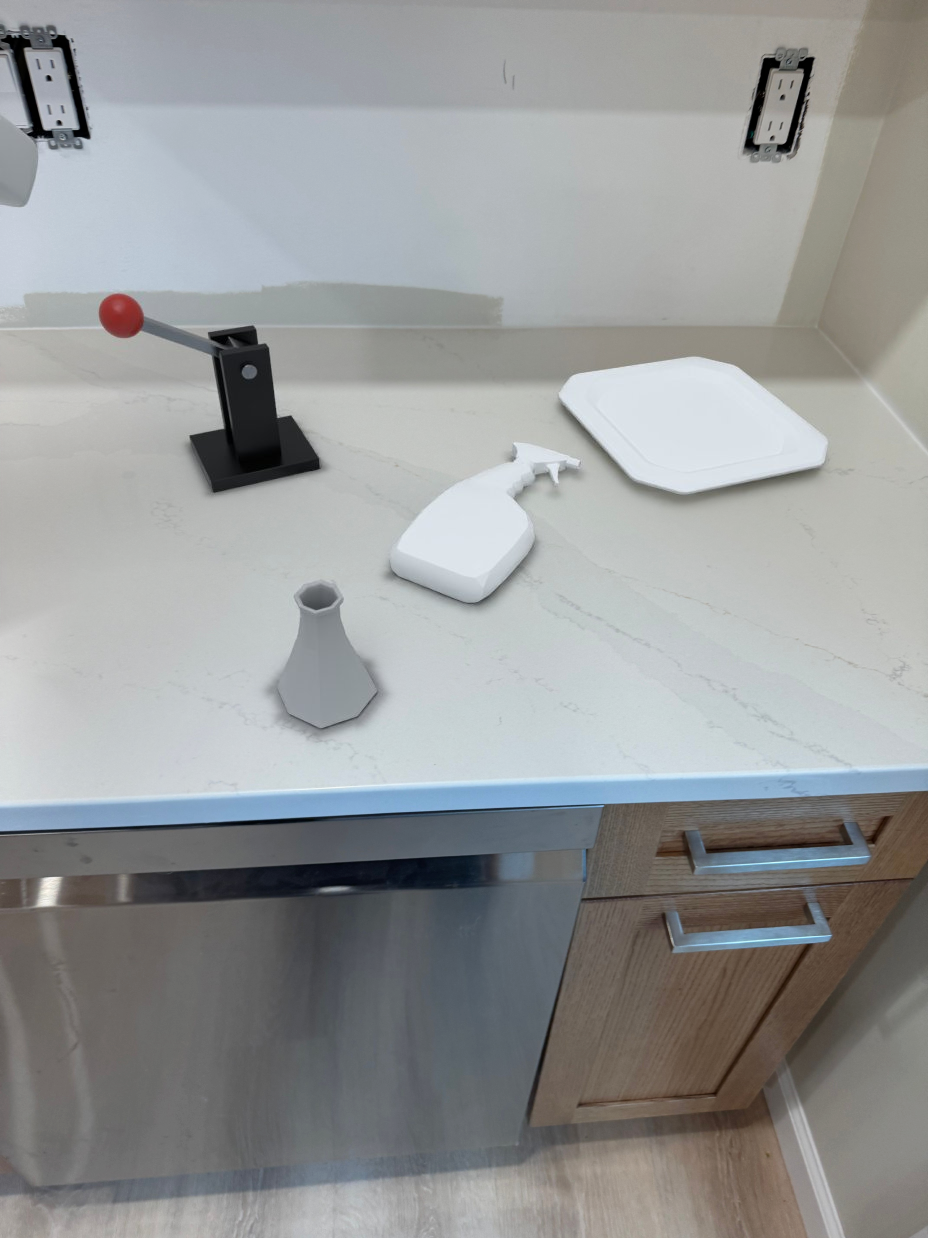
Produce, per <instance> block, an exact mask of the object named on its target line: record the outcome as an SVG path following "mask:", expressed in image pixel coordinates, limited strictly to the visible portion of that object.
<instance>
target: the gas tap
mask: <svg viewBox="0 0 928 1238" xmlns="http://www.w3.org/2000/svg"><path fill="white" fill-rule="evenodd" d="M228 337H231V338H234V339H236V340H239V341H242V342H245V343H247V344H250V345H252V346H245V347H239V348H233V349H227V350H221V351H219V356H220V358H219V357H216V356H213V355H211V360H212V366H213V372H214V378H215V383H216V384H215V385H216V389H217V395H218V396H217V397H218V402H219V408H220V413H221V418H222V424H223V428H219V429H215V430H210V431H204V432H199V433H194V434H190V435H188V437H189V442H190V446H191V449H192V450H193V453H194V455H195V457H196V459H197V462H198V463H199V466H200V468H201V469H202V471H203V474H204V476H205V479H206V481H207V482H208V485H209V487H210V489H211V491H212V492H213V493H217V492H221V491H226V490H230V489H234V488H239V487H244V486H248V485H253V484H257V483H261V482H266V481H271V480H274V479H279V478H284V477H288V476H292V475H297V474H301V473H305V472H310V471H315V470H319V469H321V462H320V461H321V460H320V457H319V456H318V454H317V452H316V451H315V450H314V448H313V446H312V445H311V443H310V441H309V440H308V439H307V436H306V435H305V434H304V432H303V431H302V429H301V428H300V426H299V424H298V423H297V421H296V420H295V418H294V417H293V415H291V414H290V415H284V416H280V417H278V412H277V403H276V395H275V387H274V377H273V369H272V361H271V353H270V347H269V345H268V344H267V343H265V342H263V343H259V339H258V338H259V337H258V330H257V328H256V327H255V325H254V324H252V325H245V326H239V327H232V328H225V329H220V330H212V331H208V332H207V339H209V340H212V341H215V342H218V343H220V344H223V345H225V344H226V341H227V339H228ZM219 359H220V360H219Z"/></svg>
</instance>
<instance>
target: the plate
mask: <svg viewBox="0 0 928 1238" xmlns="http://www.w3.org/2000/svg"><path fill="white" fill-rule="evenodd" d="M557 396H558V400H559V401H560V403H561V404H562V405H563V406H564V407H565V408H566V410H568V412H570V414H571V415H572V416H573V417H574V418H575V419H576V421H578V423H580V425H581V426H582V427H583V428H584V429H585V430H586V432H588V433H589V435H590V436H591V437H592V438H593V440H595V441H596V442H597V444H599V446H600V447H601V448H602V449H603V450H604V451H605V452H606V454H607V455H609V457H610V458H611V460H613V461H614V462H615V463H616V464H617V465H618V467H619V468H620V469H621V470H622V471H623V473H625V474H626V476H627V477H628V478H629V479H630V480H632V481H634V482H635V483H638V484H641V485H645V486H648V487H651V488H655V489H659V490H662V491H666V492H670V493H673V494H676V495H677V494H678V495H685V496H689V495H693V494H697V493H702V492H703V493H704V492H708V491H712V490H717V489H721V488H727V487H731V486H736V485H741V484H745V483H751V482H756V481H760V480H765V479H769V478H775V477H778V476H779V477H781V476H784V475H788V474H794V473H798V472H804V471H808V470H812V469H813V470H814V469H818V468H820V467H822V466H823V465H824V464H825V461H826V456H827V451H828V447H829V446H828V445H829V440H828V438H827V437H826V436H825V435H824V434H823V433H822V432H821V431H819V430H818V429H816V427H814V426H813V425H811V424H810V423H809V422H808V421H806V420H805V419H804V418H802V417H801V416H800V415H799V414H797V412H795V411H794V410H793V409H791V408H790V407H789V406H787V404H785V403H784V402H782V401H781V400H780V399H779V398H778V397H776V396H775V395H774V394H772V393H771V392H770V391H769V390H768V389H766V388H765V387H764V386H762V385H761V384H760V383H759V382H757V381H756V380H755V379H753V377H751V376H750V375H749V374H748V373H746V372H745V371H744V370H742V369H741V368H740V367H738V366H737V365H735V364H732V363H728V362H727V363H726V362H722V361H718V360H713V359H711V358H705V357H703V356H694V355H693V356H687V357H680V358H674V359H665V360H660V361H654V362H653V361H652V362H648V363H639V364H633V365H627V366H620V367H613V368H607V369H600V370H594V371H587V372H579V373H576V374H573V375H571V376H570V377H569V378H568V379H567V381H566V382H565V384H564V385H563V386H562V387H561V389H560V390H559V392H558V394H557Z"/></svg>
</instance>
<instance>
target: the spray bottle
mask: <svg viewBox="0 0 928 1238" xmlns="http://www.w3.org/2000/svg"><path fill="white" fill-rule="evenodd" d="M511 454H512V455H513V456H514V457H515V459H514V460H513V461H506V462H504V463H501V464H499V465H496V466H493V467H490V468H488V469H485V470H483V471H481V472H478V473H477V474H474V475H473V476H471V477H469V478H466V479H464V480H460V481H458V482H456V483H455V484H453V485H452V486H450V487H449V488H448V489H446V490H444V491H443V492H441V493H440V494H439V495H438V496H436V497H435V498H434V499H433V500H432V501H431V502H430V503H428V504H427V505H426V506H425V507H424V508H423V509H422V510H420V512H418V514H417V515H416V516H415V518H414V519H412V521H411V522H410V524H409V525H408V526H407V528H406V529H405V530H404V531H403V533H402V534H401V535H400V537H399V538H398V539H397V540H396V541H395V543H394V544H393V545H392V546H391V548H390V551H389V556H388V560H389V564H390V567H391V571H392V572H394V573H395V574H396V576H398V577H399V578H402V579H403V580H404V579H405V580H406V581H409V582H412V583H415V584H417V585H420V586H422V587H424V588H427V589H430V590H433V591H434V592H437V593H440V594H442V595H445V596H447V597H449V598H452V599H455V600H457V601H460V602H462V603H466V604H469V603H470V604H475V603H478V602H481V601H482V600H483V599H485V598H487V597H488V596H490V595H491V594H493V592H494V591H496V589H497V588H499V586H500V585H501V584H502V583H503V582H504V581H505V580H506V579H508V577H509V576H510V575H511V574H512V573H513V571H515V569H516V568H517V567H518V566H519V565H520V563H521V562H522V561H523V560H524V559H525V558H526V557H527V556H528V554H529V553H530V551H531V549H532V548H533V546H534V543H535V540H536V532H535V527H534V524H533V522H532V520H531V519H530V516H529V515H528V513H527V512H526V511H525V510H524V509H523V507H521V505H520V504H519V503H517V501H516V500H515V499H516V496H517V495H519V494H520V493H522V492H523V489H524V488H526V487H527V488H528V487H529V486H531V485H532V484H533V483H534V482H535V480H536V475H540V474H544V473H545V474H546V473H549V476H550V478H551V480H552V483H553V485H554V486H555V487H559V484H560V483H559V478H558V477H559V472H563V471H564V470H566V469H567V468H568V469H571V470H574V471H575V470H576V471H579V469H580V468H581V464H582V460H579V459H577V458H574V457H571V455H569V454H565V453H562V452H558V451H555V450H552V449H549V448H546V447H542V446H539V445H536V444H533V443H526V442H515V441H513V442H512V446H511Z"/></svg>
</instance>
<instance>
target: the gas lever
mask: <svg viewBox="0 0 928 1238" xmlns="http://www.w3.org/2000/svg"><path fill="white" fill-rule="evenodd" d="M98 319H99V322H100V324H101V326H102V327H103V329H104V330H105V331H106V332H107V333H108V334H110V335H111V336H113V337H115V338H119V339H130V338H134V337H135V336H137V335H138V334H139V333H140V332H144V333H147V334H150V335H152V336H155V337H159V338H161V339H164V340H165V341H166V340H167V341H170V342H171V343H175V344H179V345H182V346H184V347H187V348H191V349H193V350H195V351H198V352H202V353H204V354H208V355H210V356H212V355H213V356H216V357H219V358H220V356H219V351H221V350H227V349H233V348H239V347H245V346H252V345H250V344H247V343H245V342H242V341H239V340H236V339H234V338H231V337H228V339H227V341H226V344H225V345H223V344H220V343H218V342H215V341H212V340H209V338H206V337H204V336H200V335H198V334H195V333H192V332H190V331H187V330H184V329H181V328H178V327H175V326H173V325H170V324H167V323H164V322H161V321H159V320H156V319H153V318H150V317H147V316H145V314H144V311H143V309H142V306H141V305H140V303H139V302H138V301H137V300H135V298H133V297H131V296H130V295H128V294H125V293H119V292H117V293H112V294H110V295H107V296H106V297H105V298H104V299H102V301H101V303H100V304H99V307H98ZM219 360H220V359H219Z"/></svg>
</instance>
